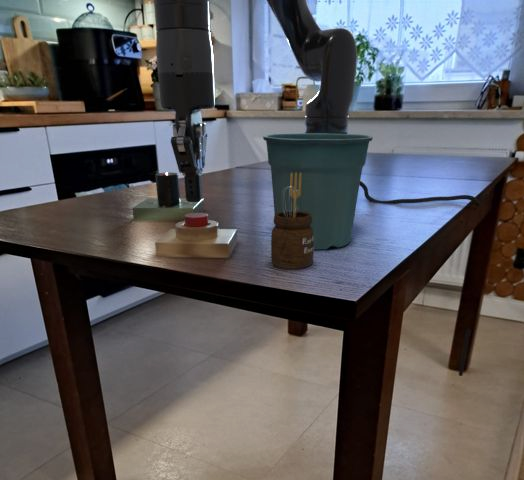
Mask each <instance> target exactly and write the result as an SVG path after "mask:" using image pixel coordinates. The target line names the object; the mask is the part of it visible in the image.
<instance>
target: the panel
mask: <svg viewBox="0 0 524 480" xmlns="http://www.w3.org/2000/svg"><path fill="white" fill-rule="evenodd" d="M131 209H132V217H133V218H132V219H133V222H134V221H139V222H140V221H141V222H142V221H143V222H144V221H145V222H147V221H148V222H151V221H152V222H153V221H155V222H182V221H185V218H184V215H186V214H189V213H205V199H204V198H202V199H201V200H200V201H199V202H188V201H187V200H186V198H180V203H178V204H172V205H162V204H158V198H155V197H154V198H149V197H148V198H146V199H144V200H142V201H140V202H139V203H138V204H136V205H134V206H133V207H132V208H131Z"/></svg>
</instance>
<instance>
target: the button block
mask: <svg viewBox="0 0 524 480" xmlns="http://www.w3.org/2000/svg"><path fill="white" fill-rule="evenodd" d="M208 222H209V225H208V226H204V227H186V226H185V221H177V223H175V225H174V228H169V229H168V231H166V232H165V233H164V234H163V235H162V236H161V237H160V238H158V240H156V241H155V243H154V246H155V256H156V258H210V259H211V258H217V259H218V258H220V259H221V258H222V259H229V258H230V256H231V255H232V253H233V251H234V249H235V248H236V245H237V243H238V229H236V228H220V226H219V225H220V223H219V222H218V221H216V220H211V219H208Z"/></svg>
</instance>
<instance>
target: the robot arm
mask: <svg viewBox="0 0 524 480" xmlns="http://www.w3.org/2000/svg"><path fill="white" fill-rule="evenodd" d="M266 3H267V4H268V6H269V7H270V10H271V11H272V13H273V15H274V17H275V19H276V20H277V22H278V24H279V26H280V28H281V30H282V31H283V34H284V36H285V38H286V40H287V42H288V45H289V47H290V50H291V52H292V54H293V56H294V58H295V60H296V63H297V65H298V67H299V69H300V71H301V72H302V74H303V75H304V76H305V77H306V78H307V79H308V80H311V81H313V82H320V85H319V90H318V92H317V94H316V95H315V96H314V97H313V98H312V99H310V100H309V101H308V102H306V104H305V111H304V113H305V114H304V117H305V119H304V133H329V134H348V129H349V115H350V114H349V113H350V108H351V105H352V103H353V99H354V92H355V83H356V73H357V62H358V48H357V42H356V40H355V37H354V35H353V33H352V32H351V31H350V30H349V29H347V28H343V27H337V28H328V29H321V28H320V26H319V25H318V23H317V22H316V20H315V18H314V17H313V14H312V13H311V10H310V8H309V5H308V3H307V0H266ZM209 6H210V5H209V0H153V7H154V8H153V9H154V20H155V21H154V22H155V30H156V32H155V35H156V42H155V55H156V56H155V57H156V65H157V78H158V88H159V89H158V91H159V100H160V107H161V108H162V109H163V110H173V111H174V112H175V116H174V124H172V136H171V138H170V144H171V148H172V151H173V155H174V158H175V162H176V165H177V169H178V172H179V173H180V174H181V175H182V176H183V177H184V178H183V179H184V191H185V193H184V194H185V199H186V200H187V201H188V202H199V201H200V200H201V199H203V187H202V186H203V184H202V183H203V182H202V175H203V172H204V168H205V167H206V151H207V141H208V133H207V128H206V127H207V126H206V123H205V122H203V119H202V112H201V110H211V109H214V107H215V106H216V96H215V77H214V76H215V75H214V73H215V72H214V53H213V45H212V39H211V32H210V31H211V28H210V9H209V8H210V7H209ZM359 187H361V189H362V190H363V194H364V197H365V200H367V201H368V202H370V203H371V202H372V203H379V204H388V205H398V204H399V205H400V204H421V203H430V202H451V201H459V200H466V201H467V200H468V201H471V202H473V203H474V204H475V205H477V206H479V207H480V206H483V203H482V201H481V200H479V199H478V198H477V197H475V196H473V195H469V194H458V195H451V196H430V197H420V198H419V197H418V198H397V199H390V200H389V199H388V200H380V199H375V198H373V197H372V196H371V195H369V189H368V187H367V185H366V183H364V182H363V181H361V180H360V185H359ZM471 332H472V328H466V332H465V337H464V343H463V346H462V351H461V352H462V353H461V357H460V358H461V359H460V365H459V370H458V376H460V377H463V376H464V375H463V374H464V370H465V369H464V368H465V363H466V357H467V351H468V346H469V341H470V336H471Z"/></svg>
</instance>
